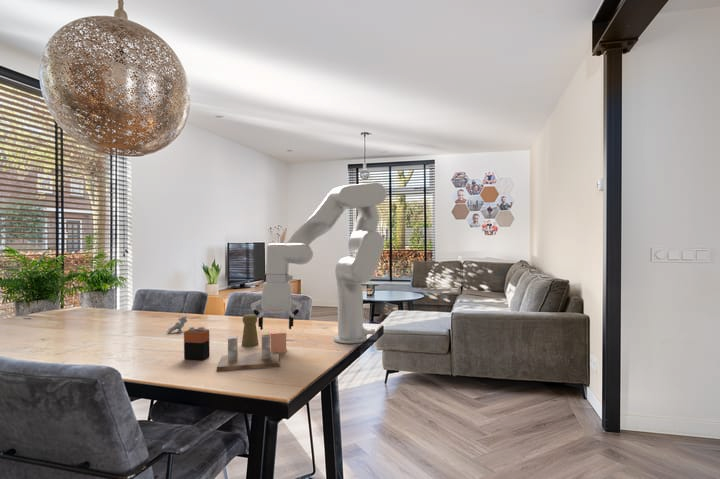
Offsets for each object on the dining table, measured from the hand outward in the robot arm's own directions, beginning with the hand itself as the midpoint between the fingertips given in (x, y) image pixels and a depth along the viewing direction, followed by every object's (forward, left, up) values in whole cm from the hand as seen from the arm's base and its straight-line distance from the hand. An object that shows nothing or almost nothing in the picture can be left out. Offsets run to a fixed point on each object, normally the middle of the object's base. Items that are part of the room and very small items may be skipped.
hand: (275, 328), depth 142 cm
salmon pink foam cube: (-1, 0, -8) cm, 8 cm away
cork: (+9, -11, -8) cm, 17 cm away
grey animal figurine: (+39, -40, -8) cm, 56 cm away
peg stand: (+8, +12, -8) cm, 16 cm away
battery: (+25, +3, -8) cm, 27 cm away
